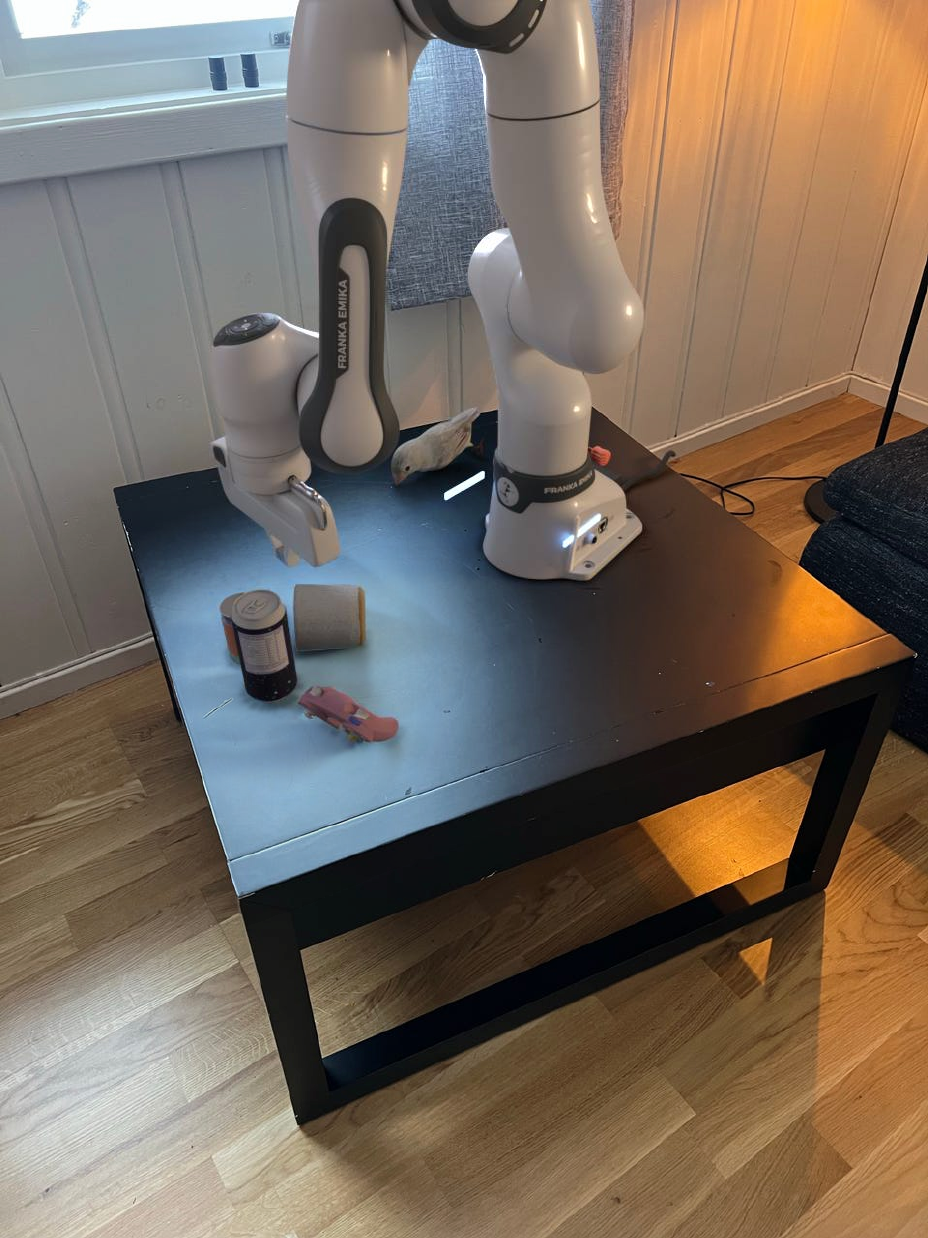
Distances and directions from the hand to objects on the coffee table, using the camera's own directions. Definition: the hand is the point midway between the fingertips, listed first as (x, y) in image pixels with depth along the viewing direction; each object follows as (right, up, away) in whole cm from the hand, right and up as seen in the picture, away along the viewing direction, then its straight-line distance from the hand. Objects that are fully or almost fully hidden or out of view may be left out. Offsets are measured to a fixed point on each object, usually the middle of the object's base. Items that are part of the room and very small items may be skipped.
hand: (288, 560), depth 114 cm
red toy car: (+9, -19, -16) cm, 26 cm away
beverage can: (0, -15, -11) cm, 19 cm away
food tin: (-3, -11, -6) cm, 13 cm away
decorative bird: (+17, +15, +27) cm, 35 cm away
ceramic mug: (+6, -9, -4) cm, 11 cm away
